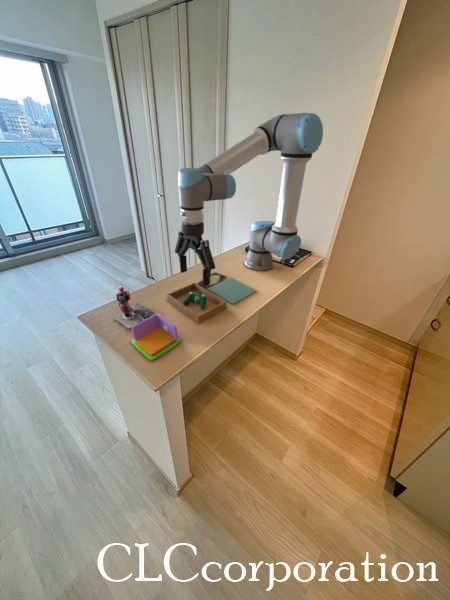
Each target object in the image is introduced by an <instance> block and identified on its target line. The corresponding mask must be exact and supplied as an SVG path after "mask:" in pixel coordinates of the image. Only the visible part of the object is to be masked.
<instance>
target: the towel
mask: <svg viewBox="0 0 450 600" xmlns="http://www.w3.org/2000/svg"><path fill="white" fill-rule="evenodd" d="M207 291H209V292H211V293H212V294H214V295H216V296H217V297H219V298H221V299H222V300H224V301H226V302H228V303H230V304H231V305H235V304H237V303H239V302H240V301H242V300H243V299H246V298H247V297H249V296H251V295H253V294H254V293H256V292H257V290H256V289H254V288H252V287H250V286H248V285H246V284H244V283H242V282H240V281H238V280H236V279H234V278H232V277H229V278H227V279H225V280H222V281H220V282H219V283H217V284H216V285H214V286H212V287H210V288H208V290H207Z"/></svg>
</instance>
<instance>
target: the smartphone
mask: <svg viewBox="0 0 450 600" xmlns="http://www.w3.org/2000/svg"><path fill="white" fill-rule="evenodd" d="M225 278H227V277H226V275H223V274H220V273H218V272H213V273H211V277H210V284H209V285H206V286H203V279H202V280H201V281H199V282H198V283H196V284H197V285H199V286H201V287H202V288H204V289H206V290H207V291H209V290H208V288H210V287H212V286H214V285H216V284H219V283H221V282H222V281H224V279H225Z"/></svg>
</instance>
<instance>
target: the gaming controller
mask: <svg viewBox="0 0 450 600" xmlns="http://www.w3.org/2000/svg"><path fill="white" fill-rule="evenodd" d="M190 303H194V304H199V305H200V308H201V310H205V308H206V306H207V303H208V298H207V297H206V295H202V294H201V293H194V292H192V291H189V292H188V295H187V296H186V297H185V298H184V300H183V302H182V304H183V305H184V306H188V305H189V304H190Z"/></svg>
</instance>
